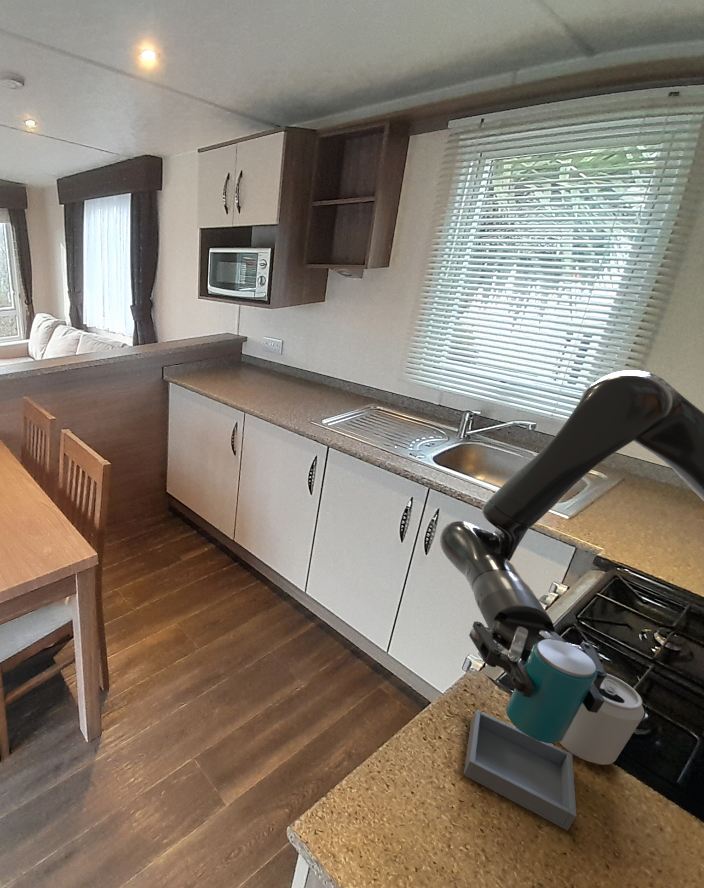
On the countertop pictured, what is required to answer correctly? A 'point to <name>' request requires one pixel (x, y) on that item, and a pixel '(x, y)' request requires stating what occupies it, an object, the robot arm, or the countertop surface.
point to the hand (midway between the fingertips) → (561, 699)
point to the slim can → (552, 690)
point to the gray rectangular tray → (521, 769)
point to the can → (605, 724)
